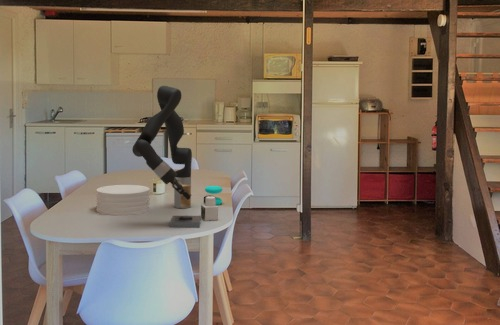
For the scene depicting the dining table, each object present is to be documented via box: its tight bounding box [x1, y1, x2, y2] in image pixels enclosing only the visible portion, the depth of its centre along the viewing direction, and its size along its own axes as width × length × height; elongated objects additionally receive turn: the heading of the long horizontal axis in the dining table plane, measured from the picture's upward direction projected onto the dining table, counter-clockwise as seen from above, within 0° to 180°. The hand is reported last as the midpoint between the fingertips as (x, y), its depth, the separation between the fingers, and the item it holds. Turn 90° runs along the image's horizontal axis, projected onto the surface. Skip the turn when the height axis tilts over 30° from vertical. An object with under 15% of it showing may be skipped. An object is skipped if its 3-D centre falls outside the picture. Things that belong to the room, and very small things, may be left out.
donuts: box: [204, 185, 223, 206], centre depth 323 cm, size 10×10×10 cm
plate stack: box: [96, 184, 151, 216], centre depth 303 cm, size 28×28×12 cm
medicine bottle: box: [200, 194, 219, 222], centre depth 284 cm, size 7×7×12 cm
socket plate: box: [169, 215, 202, 228], centre depth 273 cm, size 14×14×2 cm
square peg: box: [181, 184, 192, 208], centre depth 271 cm, size 5×5×10 cm
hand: (189, 197), depth 272 cm, fingers closed on square peg, 4 cm apart
